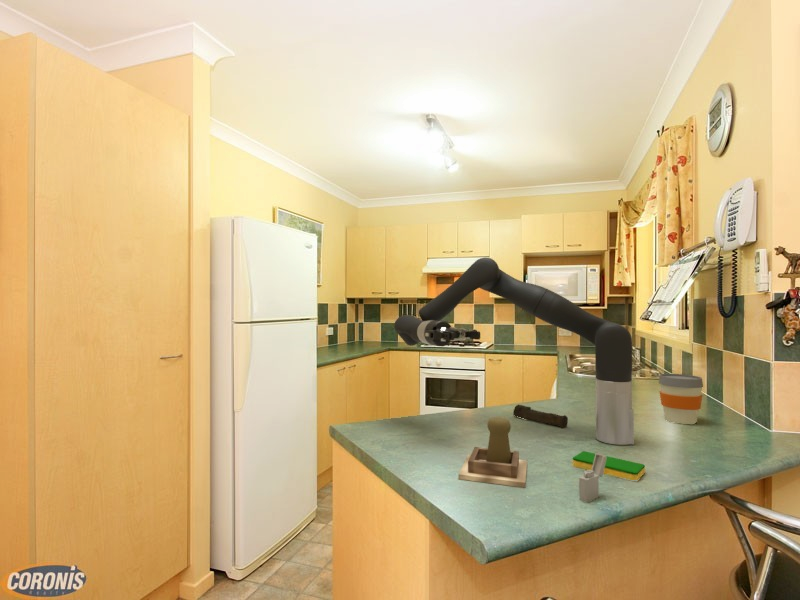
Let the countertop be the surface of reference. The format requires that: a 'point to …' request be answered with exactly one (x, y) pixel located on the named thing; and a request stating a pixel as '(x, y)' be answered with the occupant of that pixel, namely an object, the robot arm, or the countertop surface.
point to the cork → (499, 441)
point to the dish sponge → (611, 466)
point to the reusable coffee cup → (680, 397)
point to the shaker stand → (494, 469)
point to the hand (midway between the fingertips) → (466, 335)
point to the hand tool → (540, 416)
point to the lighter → (592, 479)
